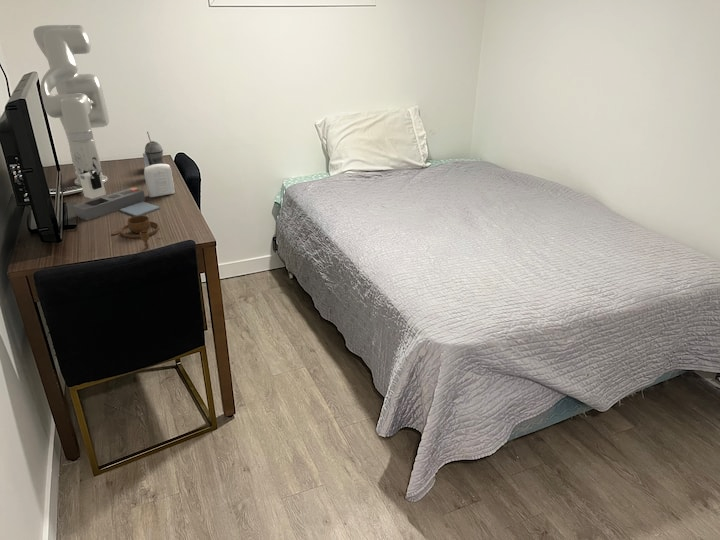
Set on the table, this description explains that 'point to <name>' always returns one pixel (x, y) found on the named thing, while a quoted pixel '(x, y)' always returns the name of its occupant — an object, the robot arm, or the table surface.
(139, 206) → the mat
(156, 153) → the beverage cup
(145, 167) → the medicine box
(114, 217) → the table surface
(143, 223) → the place setting
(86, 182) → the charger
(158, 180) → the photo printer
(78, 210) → the power strip
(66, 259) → the table surface
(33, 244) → the table surface
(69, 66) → the robot arm
